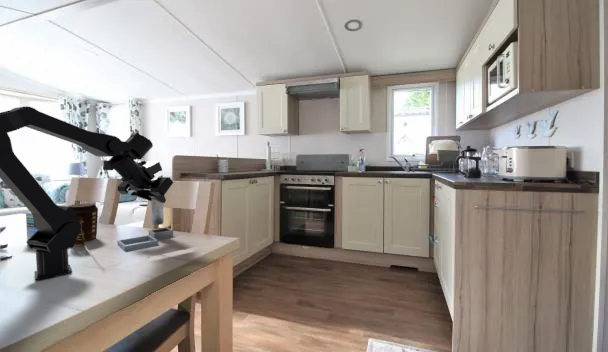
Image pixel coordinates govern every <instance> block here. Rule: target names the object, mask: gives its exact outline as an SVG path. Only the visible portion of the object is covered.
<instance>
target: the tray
mask: <svg viewBox="0 0 608 352" xmlns="http://www.w3.org/2000/svg"><path fill="white" fill-rule="evenodd" d="M142 241H144V242H142ZM137 242H138V243H137ZM116 243H117V246H118V247H119V248H120V249H121V250H122V251H124V252H128V251H133V250H139V249H144V248H148V247H153V246H154V247H155V246H159V240H157V239H155V238H153V237H151V236H150V235H149V234H147V235H143V236H137V237H131V238H125V239H118V240H117V241H116ZM133 243H134V244H133ZM128 244H129V245H128Z"/></svg>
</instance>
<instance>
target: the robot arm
mask: <svg viewBox="0 0 608 352" xmlns="http://www.w3.org/2000/svg"><path fill="white" fill-rule="evenodd" d="M24 127H26V128H28V129H31V130H34V131H37V132H40V133H43V134H45V135H49V136H51V137H55V138H57V139H61V140H64V141H66V142H69V143H72V144H75V145H77V146H79V147H81V148H82V150H84V151H85V152H87V153H90V154H91V155H93V156H95V157H100V158H101V157H105V158H107V157H110V159H108V160H103V165H102V170H103V171H114V170H115V172H116V173H118V175H119V176H120V177H121V178H120V180H121V182H120V184H119V185H118V186H117V192H119V193H120V194H121V195H128V194H129V192H130V193H131V194H130V196H131V197H135V198H139V199H143V200H146V201H149V202H151V198H153V199H156V200H158V201H160V202H162V203H163V204H165V203H166V202H167V199H166V197H165V194H167V192H168V191H169V189H170V188H171V186H172V185H173V184H174V181H173V180H172V178H171V177H169V176H168V177H167V176H166V177H163V176H161V177H160V176H159V177H157V179H155V177H156V176H155V174H157V173H159V172H161V171H163V168H162V165H161V163H160V161H159V160H150V161H146V160H142V159H143V158H144V157H145V156H146V155H147V153H149V151H150V150H151V149H152V148H153V146H154V145H153V142H152V141H151V139H150V138H149V139H148V138H147V137H146V136H144V135H141V134H140V133H139V132H138V131H137V132H132V133H131V134H130V135H129V137H128V138H127V139H126V140H125V141H122V140H121V139H120V138H119V137H117V136H115V135H112V134H106V133H101V132H94V131H90V130H87V129H84V128H81V127H79V126H78V125H74V124H72V123H69V122H67V121H64V120H62V119H59V118H56V117H54V116H53V115H52V116H51V115H49V114H46V113H44V112H42V111H39V110H37V109H36V108H34V107H32V106H19V107H14V108H12V109H10V110H5V111H2V112H0V180H1V181H2V182H3V183H4V184H5V185H6V186H7V187H8V189H9V190H10V191H12V193H13V194H14V195H15V196H16V197H17V199H19V201H20V202H21V203H22V204H23V205H24V206H25V207H26V208H27V209H28V212H31V213H32V215H33V220H34V224H35V226H36V228H37V231H36V232H35V233H34V234H33V235H32V236H31V237H30V238H29V239H28V240H27V239H26V244H27V246H28V248H29V250H35V260H36V261H35V263H36V270H35V271H34V281H40V280H45V279H49V278H55V277H58V276H64V275H68V274H71V273H73V270H72V267H71V264H69V250H68V249H72V248H74V247H75V246H74V244H75V241H76V239H77V236H78V235H79V233H80V231H81V228H82V224H81V222H80V221H79V220H81V218H80V217H78V216H77V215H76V214H75V212H74V210H73V208H72V207H68V205H67V206H65V205H57V204H56V203H55V202H54V201H53V199H52V198H51V196H50V195H49V194H48V193H47V192H46V191H45V189H44V188H43V187H42V186H41V184H40V183H39V182H38V181H37V180H36V178H35V177H34V176H33V175H32V173H31V172H30V171H29V170H28V168H27V167H26V166H25V165H24V163H22V162H21V160H20V159H19V158H18V156H17V155H16V154H15V152H14V150H13V145H12V141H11V137H10V136H9V134H8V133H12V132H14V131H17V130H20V129H22V128H24ZM136 160H139V161H137V162H136ZM153 179H155V180H153Z"/></svg>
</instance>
